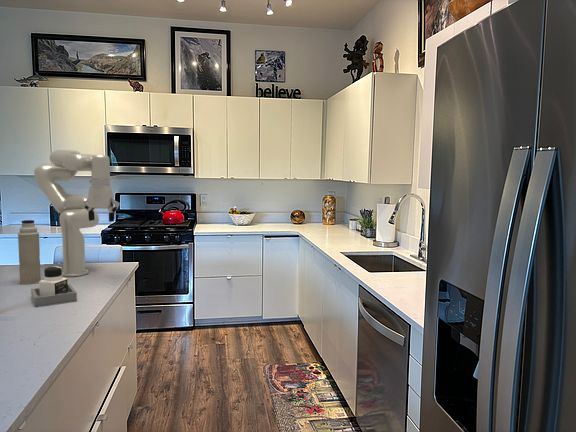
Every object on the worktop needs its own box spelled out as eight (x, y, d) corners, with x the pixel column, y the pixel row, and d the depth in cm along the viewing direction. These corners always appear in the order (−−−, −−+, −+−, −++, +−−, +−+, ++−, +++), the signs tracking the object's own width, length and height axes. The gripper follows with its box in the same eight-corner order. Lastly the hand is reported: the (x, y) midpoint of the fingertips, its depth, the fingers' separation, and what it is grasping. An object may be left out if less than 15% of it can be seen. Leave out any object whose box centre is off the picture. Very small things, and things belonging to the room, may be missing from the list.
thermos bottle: (37, 278, 194) (35, 218, 191) (43, 282, 189) (41, 220, 186) (17, 281, 188) (15, 220, 185) (23, 285, 183) (20, 221, 180)
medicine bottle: (55, 300, 161) (54, 270, 160) (39, 298, 162) (38, 268, 161) (68, 295, 168) (67, 266, 167) (52, 293, 169) (51, 264, 168)
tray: (31, 297, 167) (31, 288, 166) (70, 292, 175) (70, 284, 175) (35, 307, 155) (35, 298, 155) (76, 301, 164) (76, 292, 163)
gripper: (77, 182, 184) (78, 220, 186) (114, 183, 182) (114, 222, 184) (88, 182, 192) (89, 219, 194) (123, 183, 189) (123, 220, 191)
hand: (101, 220), depth 189 cm, fingers open, 9 cm apart
